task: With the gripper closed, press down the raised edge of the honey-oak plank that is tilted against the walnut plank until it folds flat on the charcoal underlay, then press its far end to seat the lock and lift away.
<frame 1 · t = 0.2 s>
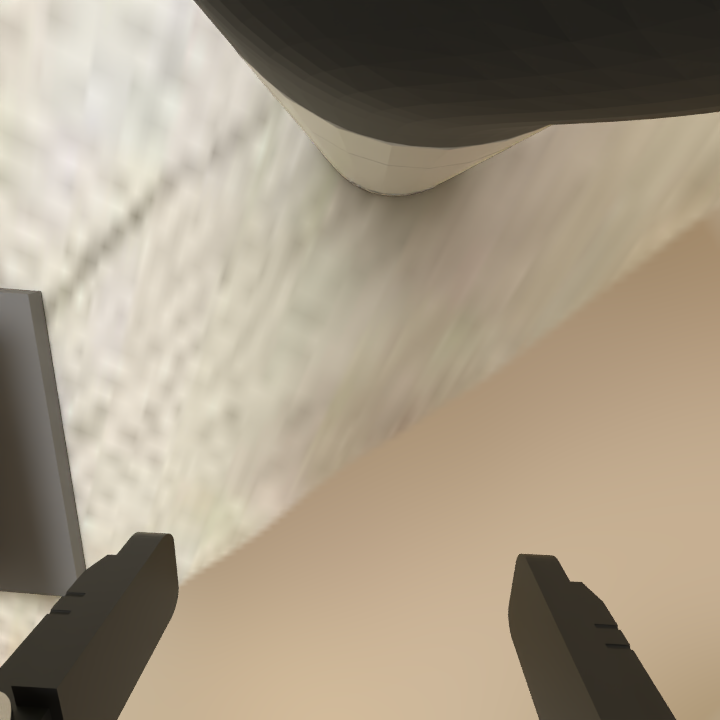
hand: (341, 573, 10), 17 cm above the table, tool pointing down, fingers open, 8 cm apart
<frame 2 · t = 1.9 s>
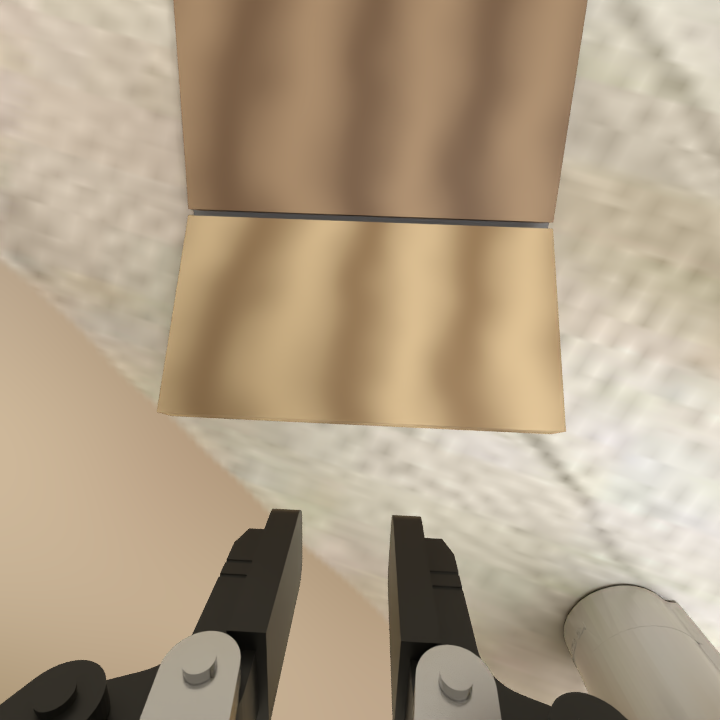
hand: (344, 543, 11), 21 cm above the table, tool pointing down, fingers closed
oak plank: (364, 321, 25), point 5 cm above the table, hinge at 30.0°
walnut plank: (373, 117, 27), resting on underlay mat
underlay mat: (369, 220, 29), on the table
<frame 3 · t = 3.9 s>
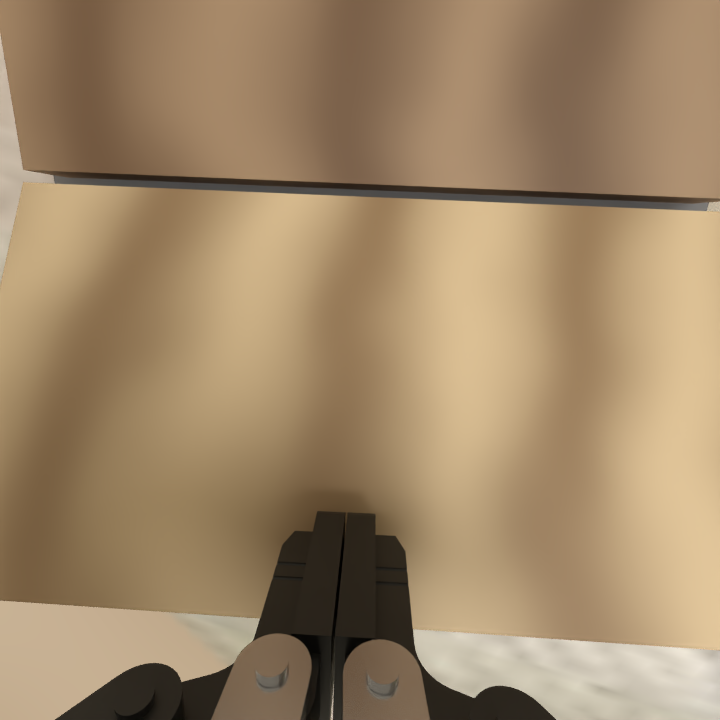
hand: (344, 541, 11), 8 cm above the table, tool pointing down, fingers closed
oak plank: (362, 394, 13), point 5 cm above the table, hinge at 27.1°, touching gripper
walnut plank: (383, 0, 14), resting on underlay mat
underlay mat: (374, 198, 16), on the table
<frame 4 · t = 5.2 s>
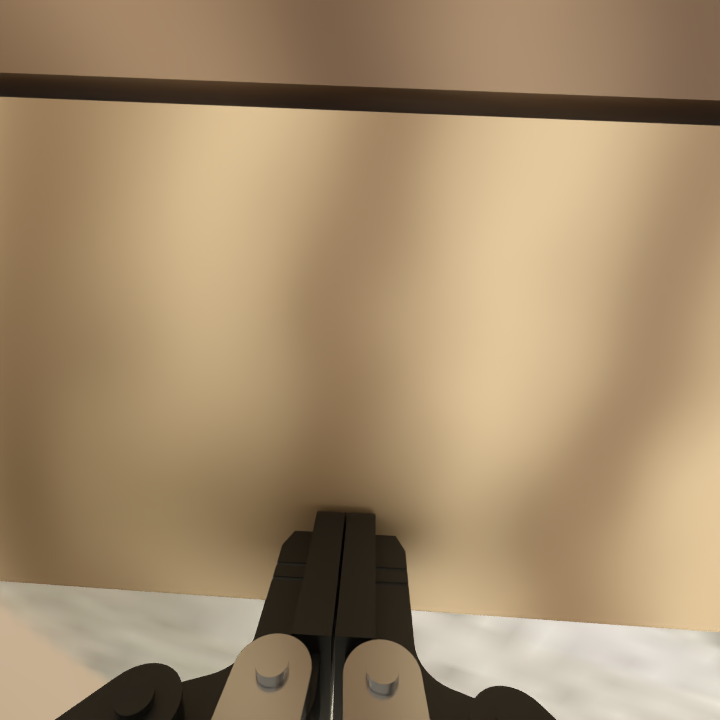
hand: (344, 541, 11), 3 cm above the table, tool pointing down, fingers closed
oak plank: (361, 391, 11), point 2 cm above the table, hinge at -0.5°, touching gripper, underlay mat
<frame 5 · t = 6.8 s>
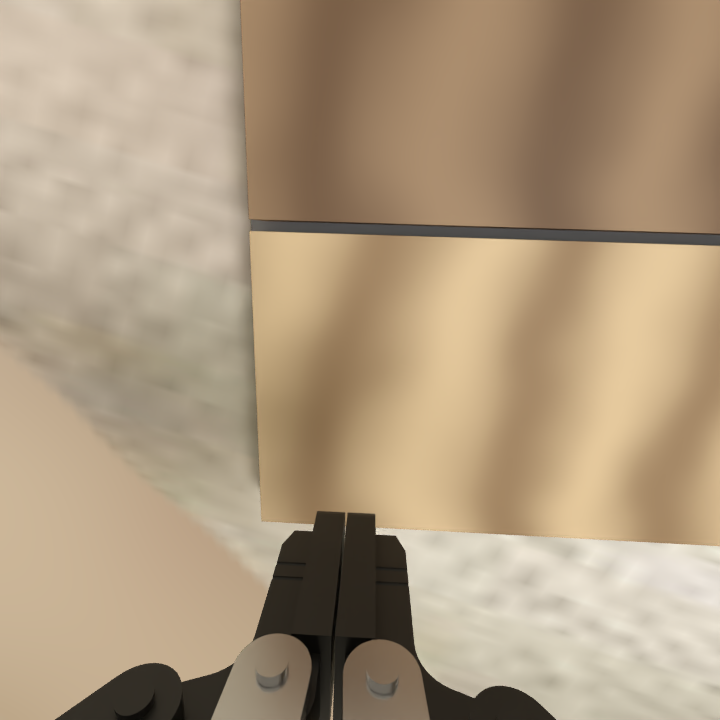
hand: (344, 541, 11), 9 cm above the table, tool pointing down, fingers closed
oak plank: (532, 394, 17), point 2 cm above the table, hinge at -0.5°, touching underlay mat
walnut plank: (561, 60, 16), resting on underlay mat
underlay mat: (536, 235, 18), on the table
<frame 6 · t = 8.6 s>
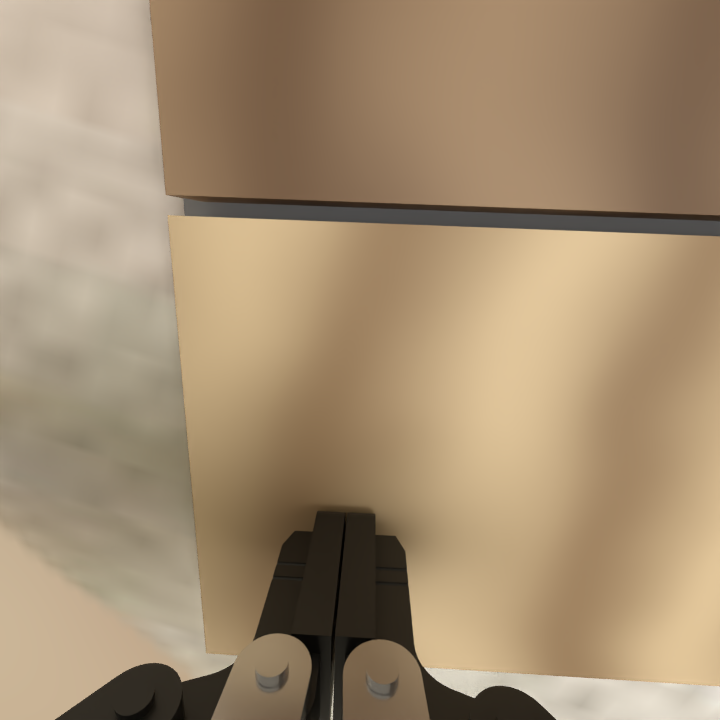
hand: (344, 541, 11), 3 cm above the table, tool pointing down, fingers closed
oak plank: (618, 472, 11), point 2 cm above the table, hinge at -0.5°, touching gripper, underlay mat
underlay mat: (626, 227, 11), on the table
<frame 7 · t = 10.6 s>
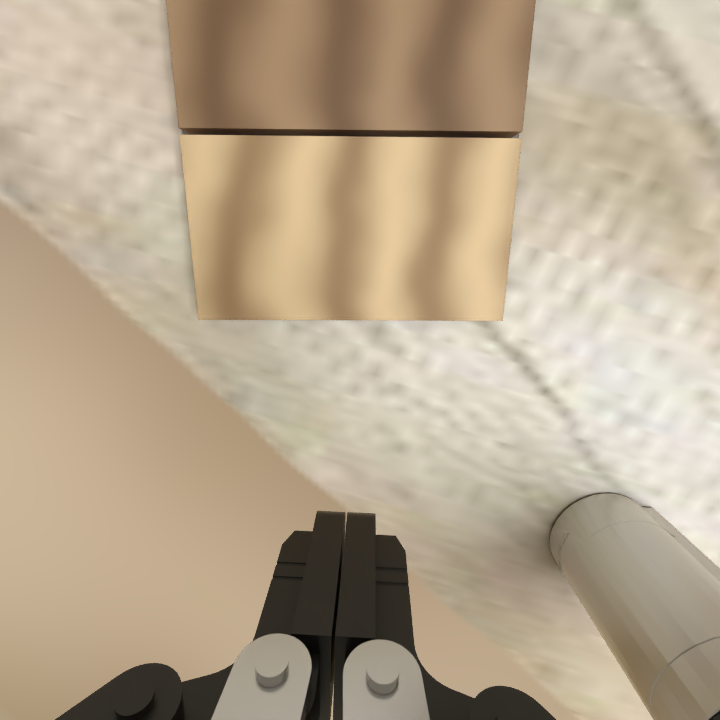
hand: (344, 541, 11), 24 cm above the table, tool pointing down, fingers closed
oak plank: (351, 233, 30), point 2 cm above the table, hinge at -0.5°, touching underlay mat
walnut plank: (351, 40, 29), resting on underlay mat
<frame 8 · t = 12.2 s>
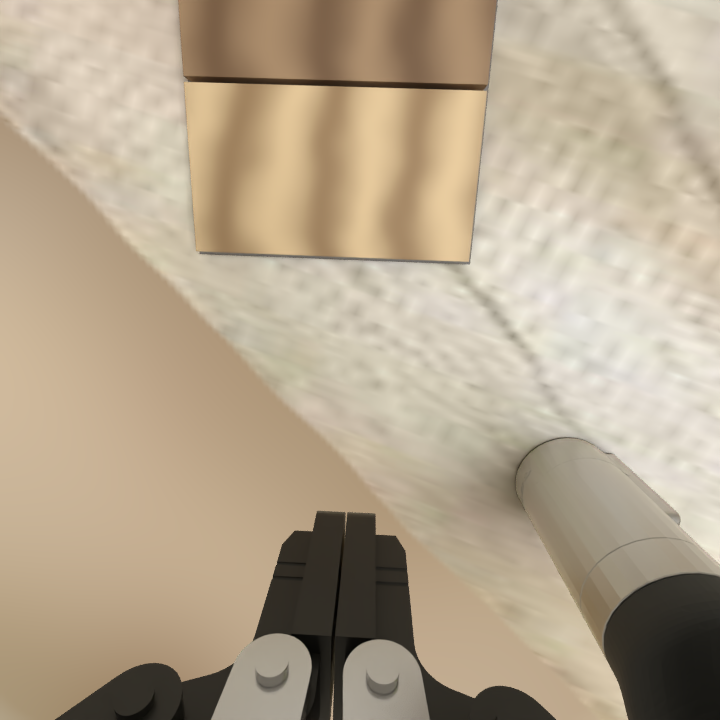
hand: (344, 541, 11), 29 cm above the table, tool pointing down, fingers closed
oak plank: (334, 177, 34), point 2 cm above the table, hinge at -0.5°, touching underlay mat
walnut plank: (339, 2, 32), resting on underlay mat
underlay mat: (337, 96, 34), on the table
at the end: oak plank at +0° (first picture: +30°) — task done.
